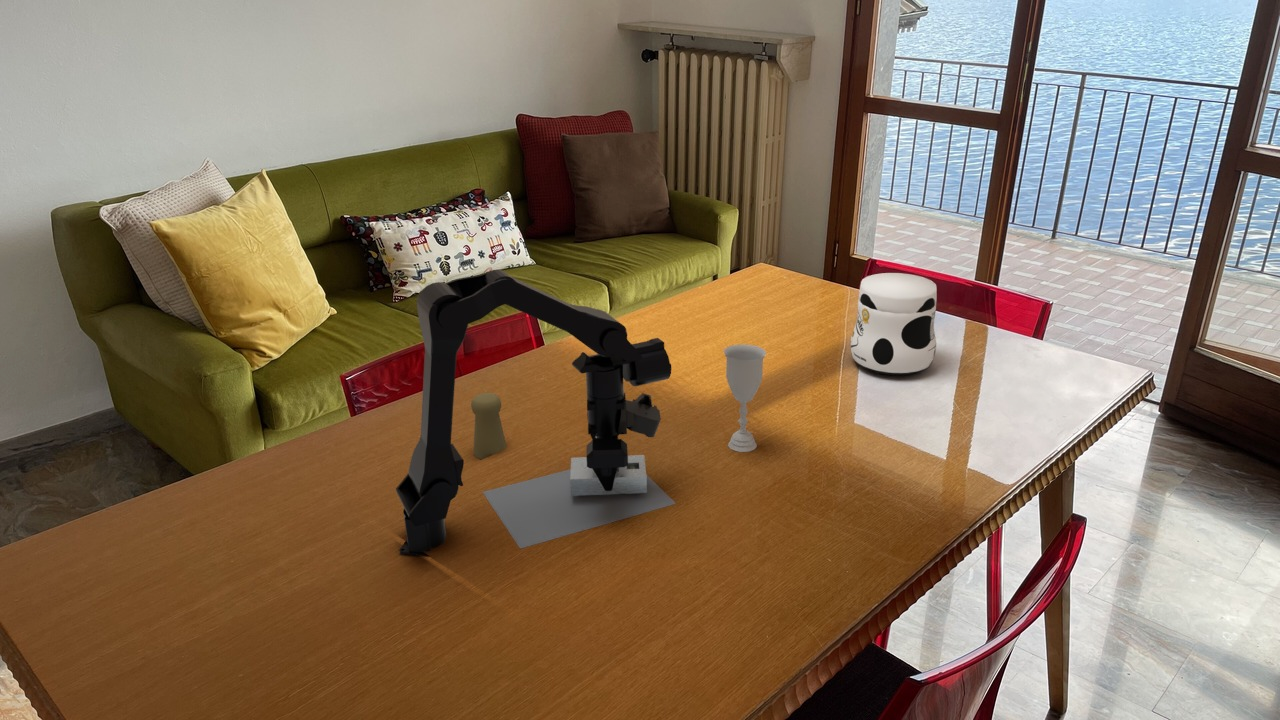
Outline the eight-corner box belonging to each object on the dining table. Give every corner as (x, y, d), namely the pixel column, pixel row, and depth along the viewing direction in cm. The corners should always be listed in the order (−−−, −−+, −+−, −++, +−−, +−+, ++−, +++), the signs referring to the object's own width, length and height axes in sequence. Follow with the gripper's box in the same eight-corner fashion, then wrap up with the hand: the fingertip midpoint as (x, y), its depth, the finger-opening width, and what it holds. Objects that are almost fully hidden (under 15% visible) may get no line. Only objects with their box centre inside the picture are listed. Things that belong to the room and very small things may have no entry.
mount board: (520, 554, 138) (520, 548, 138) (483, 497, 153) (482, 492, 153) (675, 509, 149) (675, 503, 149) (626, 459, 164) (626, 454, 163)
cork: (501, 461, 164) (496, 404, 160) (468, 458, 165) (462, 402, 161) (512, 445, 170) (507, 389, 165) (480, 442, 171) (475, 387, 166)
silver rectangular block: (571, 495, 149) (570, 479, 148) (572, 473, 156) (571, 457, 154) (646, 492, 149) (646, 476, 148) (644, 470, 156) (644, 454, 155)
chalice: (715, 449, 167) (717, 355, 160) (730, 433, 172) (732, 341, 165) (754, 457, 164) (757, 362, 156) (768, 441, 169) (772, 348, 162)
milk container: (834, 355, 204) (839, 276, 197) (904, 345, 209) (912, 267, 202) (876, 387, 189) (883, 302, 182) (950, 375, 194) (960, 292, 187)
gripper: (660, 416, 138) (661, 507, 144) (653, 365, 155) (654, 449, 161) (584, 419, 137) (588, 510, 143) (585, 368, 154) (589, 451, 161)
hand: (608, 478), depth 152 cm, fingers closed on silver rectangular block, 7 cm apart
